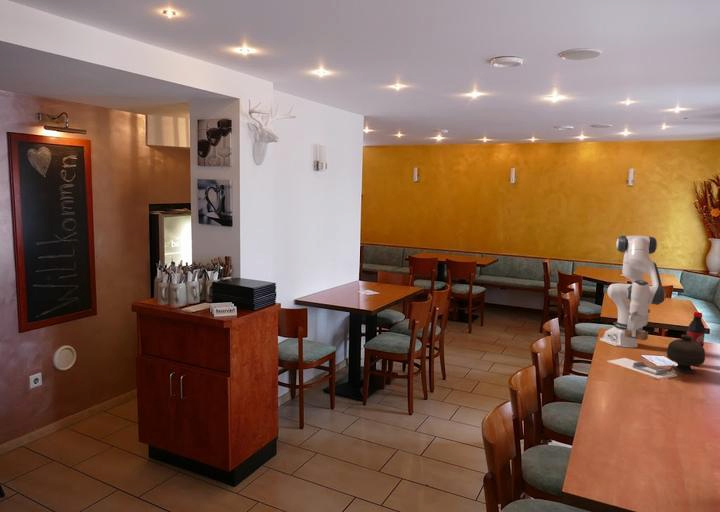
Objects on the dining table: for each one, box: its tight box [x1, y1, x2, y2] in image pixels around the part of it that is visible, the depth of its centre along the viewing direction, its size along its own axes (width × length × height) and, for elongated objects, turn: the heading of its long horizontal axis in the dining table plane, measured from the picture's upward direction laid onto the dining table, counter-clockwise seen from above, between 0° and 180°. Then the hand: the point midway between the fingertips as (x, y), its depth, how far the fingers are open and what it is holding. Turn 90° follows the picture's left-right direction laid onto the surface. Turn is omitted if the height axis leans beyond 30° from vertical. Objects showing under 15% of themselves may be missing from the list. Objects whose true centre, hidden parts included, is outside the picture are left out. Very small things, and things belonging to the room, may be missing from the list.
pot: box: [666, 334, 706, 375], centre depth 286 cm, size 18×18×20 cm
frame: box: [625, 329, 649, 341], centre depth 288 cm, size 10×6×4 cm, turn 44°
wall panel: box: [607, 357, 678, 381], centre depth 286 cm, size 30×16×4 cm, turn 28°
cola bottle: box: [686, 311, 706, 367], centre depth 298 cm, size 8×8×30 cm
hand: (636, 335), depth 288 cm, fingers closed on frame, 5 cm apart
